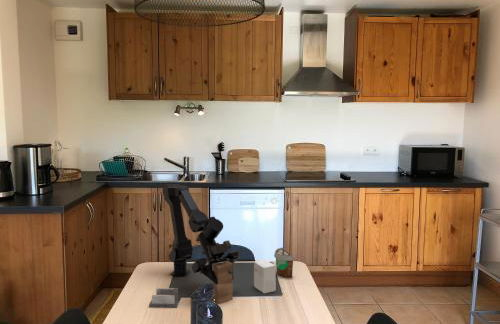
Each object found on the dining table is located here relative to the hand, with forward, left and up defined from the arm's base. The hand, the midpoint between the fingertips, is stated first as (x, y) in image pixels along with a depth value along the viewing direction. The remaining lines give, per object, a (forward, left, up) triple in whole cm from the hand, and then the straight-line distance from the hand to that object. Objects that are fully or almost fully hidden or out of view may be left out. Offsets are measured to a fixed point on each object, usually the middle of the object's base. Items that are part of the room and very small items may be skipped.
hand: (225, 281), depth 152 cm
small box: (-15, +12, -8) cm, 21 cm away
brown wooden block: (-1, -1, -8) cm, 8 cm away
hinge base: (+6, -21, -8) cm, 23 cm away
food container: (-32, +16, -8) cm, 36 cm away
